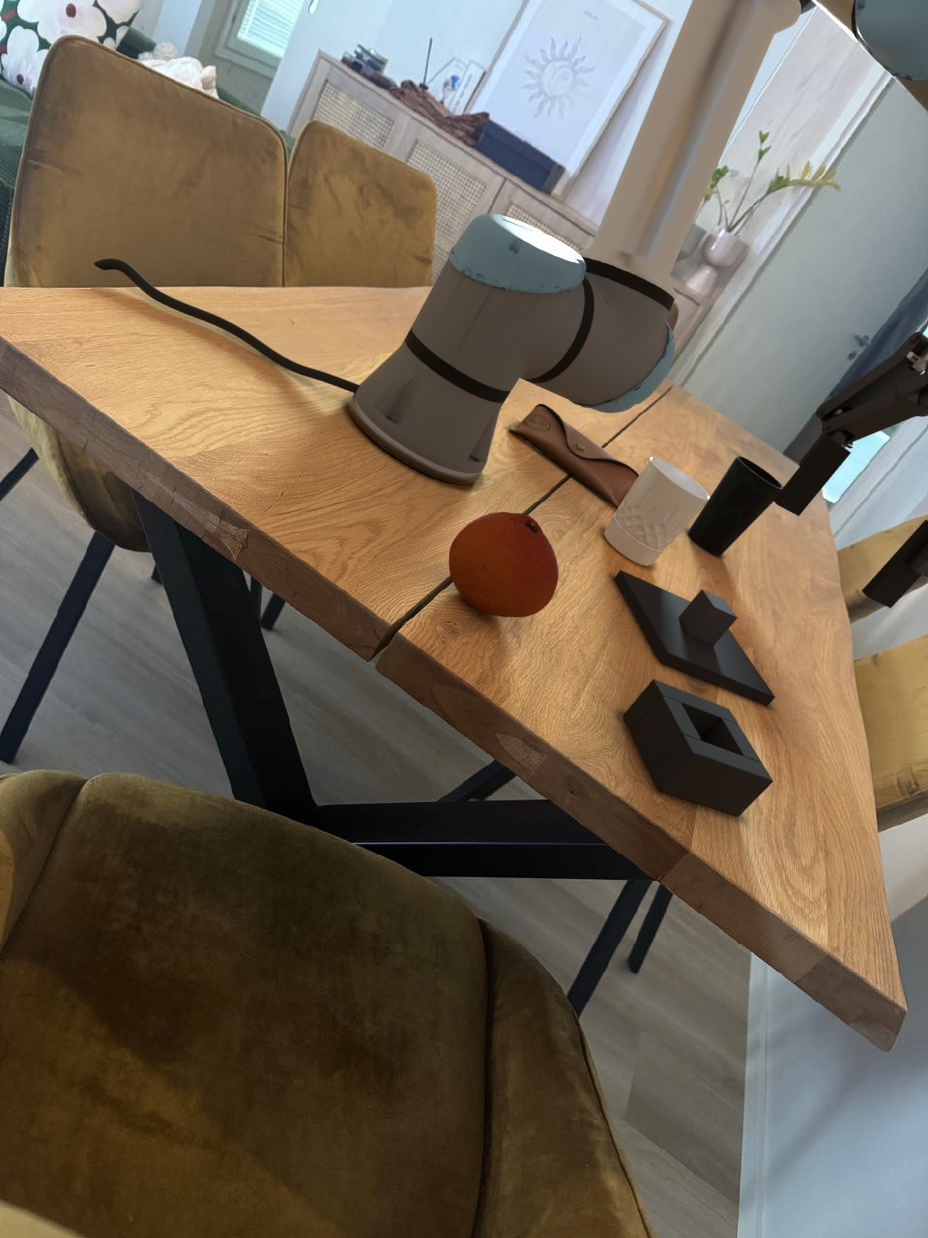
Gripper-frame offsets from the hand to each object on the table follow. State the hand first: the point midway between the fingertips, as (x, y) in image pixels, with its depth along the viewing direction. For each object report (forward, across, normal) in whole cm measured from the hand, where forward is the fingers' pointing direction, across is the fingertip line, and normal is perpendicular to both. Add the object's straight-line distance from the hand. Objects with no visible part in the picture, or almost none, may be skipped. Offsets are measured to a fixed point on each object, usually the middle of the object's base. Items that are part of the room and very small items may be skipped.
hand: (827, 551), depth 72 cm
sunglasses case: (+17, +49, -4) cm, 52 cm away
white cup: (+17, +30, -6) cm, 35 cm away
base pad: (+17, +13, -6) cm, 22 cm away
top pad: (+17, -9, +6) cm, 21 cm away
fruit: (+17, +4, +21) cm, 28 cm away
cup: (+17, +44, -26) cm, 54 cm away
